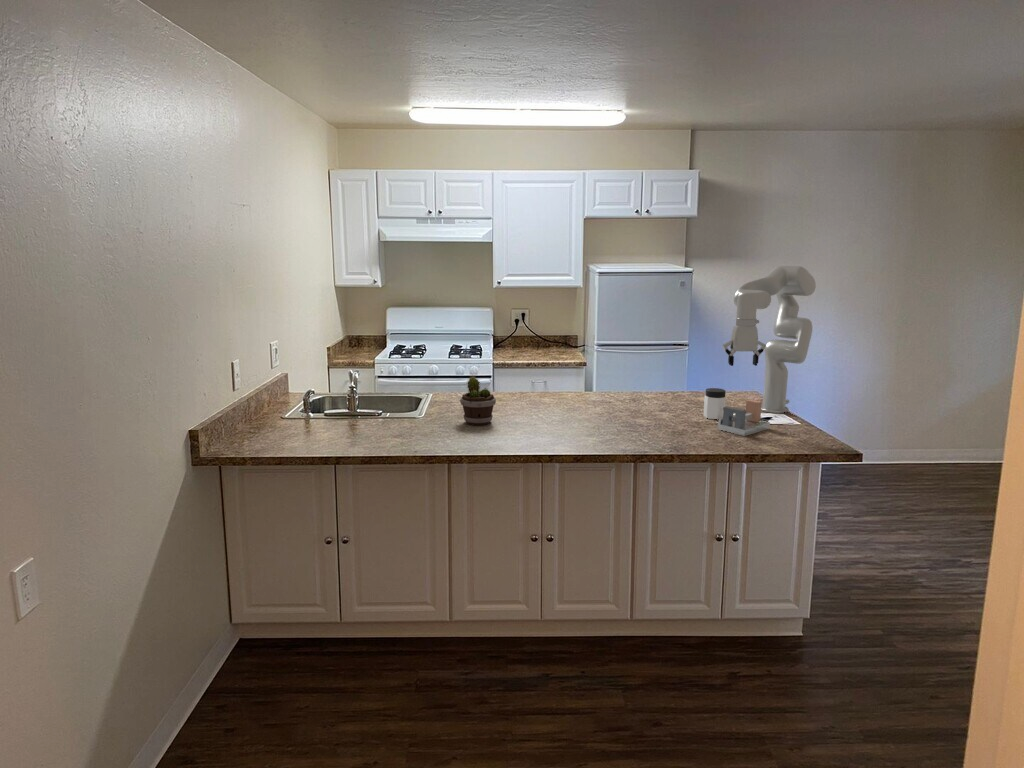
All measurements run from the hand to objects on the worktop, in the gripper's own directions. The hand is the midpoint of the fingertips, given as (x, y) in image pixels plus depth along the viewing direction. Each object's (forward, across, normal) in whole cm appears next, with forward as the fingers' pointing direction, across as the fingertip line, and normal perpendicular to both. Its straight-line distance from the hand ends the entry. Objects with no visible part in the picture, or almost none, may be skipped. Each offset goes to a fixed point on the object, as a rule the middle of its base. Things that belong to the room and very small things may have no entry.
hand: (742, 365), depth 291 cm
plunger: (+22, -2, +7) cm, 23 cm away
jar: (+25, +6, -13) cm, 29 cm away
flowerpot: (+25, +107, -6) cm, 110 cm away
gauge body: (+25, 0, +6) cm, 26 cm away
